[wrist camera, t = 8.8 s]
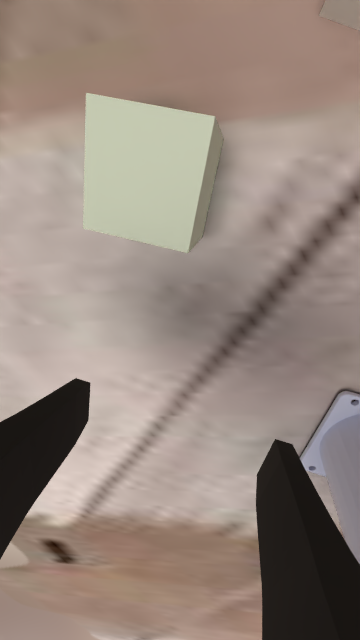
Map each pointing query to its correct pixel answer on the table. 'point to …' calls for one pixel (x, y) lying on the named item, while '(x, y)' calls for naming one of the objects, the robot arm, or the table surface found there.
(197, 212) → the sage cube
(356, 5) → the base block
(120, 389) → the table surface
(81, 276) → the table surface
